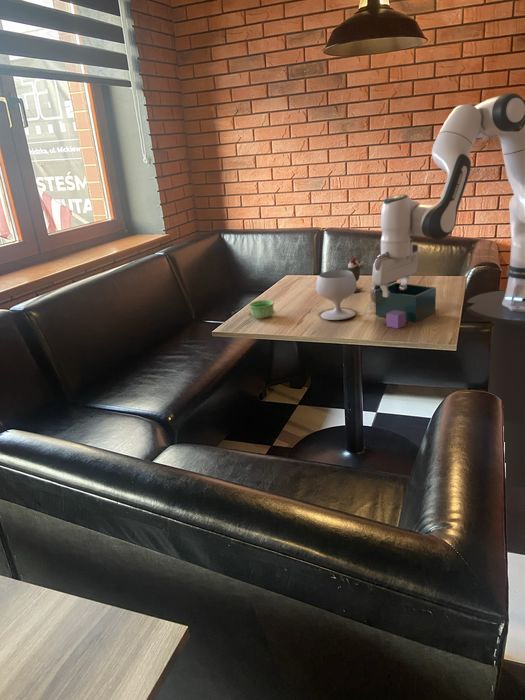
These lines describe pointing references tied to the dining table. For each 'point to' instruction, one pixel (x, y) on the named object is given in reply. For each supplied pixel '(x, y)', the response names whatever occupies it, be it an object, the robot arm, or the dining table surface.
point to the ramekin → (261, 308)
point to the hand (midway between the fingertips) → (394, 293)
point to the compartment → (407, 301)
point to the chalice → (336, 292)
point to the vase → (373, 293)
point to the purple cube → (395, 319)
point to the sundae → (355, 269)
